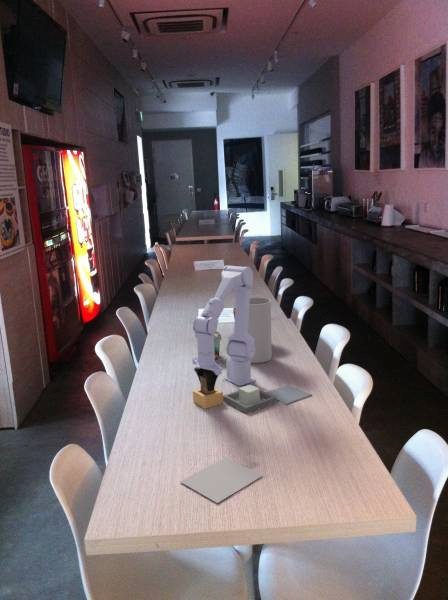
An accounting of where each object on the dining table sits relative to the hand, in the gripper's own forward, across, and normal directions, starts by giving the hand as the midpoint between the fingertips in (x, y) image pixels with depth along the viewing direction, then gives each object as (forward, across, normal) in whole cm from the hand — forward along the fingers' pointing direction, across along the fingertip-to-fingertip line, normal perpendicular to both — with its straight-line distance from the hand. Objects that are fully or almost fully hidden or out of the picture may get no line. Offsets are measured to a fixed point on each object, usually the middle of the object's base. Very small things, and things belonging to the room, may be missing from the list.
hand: (207, 388), depth 193 cm
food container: (+5, -38, +30) cm, 49 cm away
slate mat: (+5, +13, +25) cm, 29 cm away
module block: (+5, +9, +11) cm, 15 cm away
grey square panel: (+6, +37, -22) cm, 43 cm away
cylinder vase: (+5, -23, +41) cm, 47 cm away
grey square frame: (+5, +9, +11) cm, 15 cm away
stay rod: (+2, 0, 0) cm, 2 cm away
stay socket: (+5, 0, 0) cm, 5 cm away
